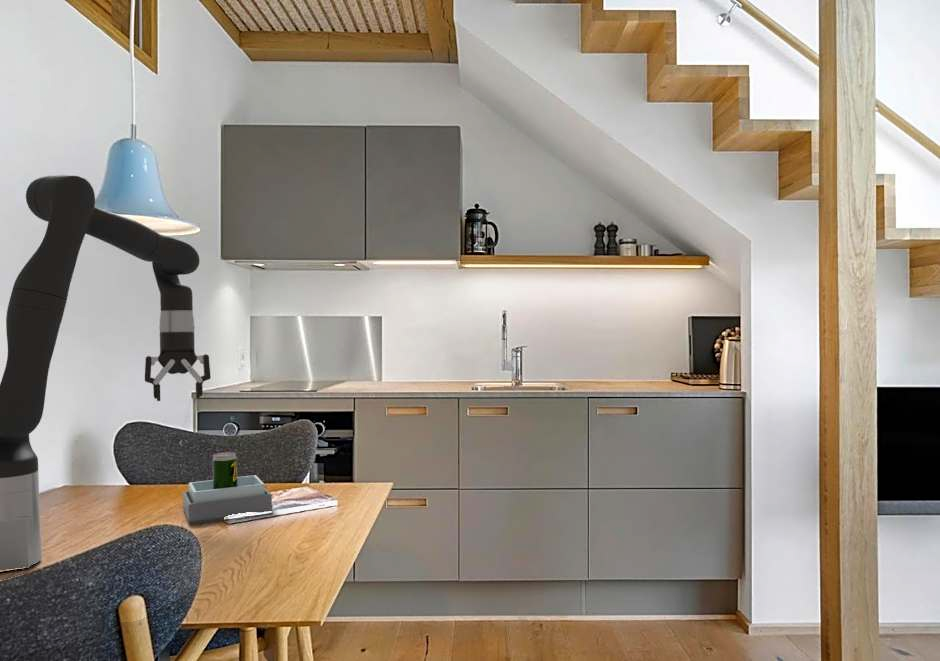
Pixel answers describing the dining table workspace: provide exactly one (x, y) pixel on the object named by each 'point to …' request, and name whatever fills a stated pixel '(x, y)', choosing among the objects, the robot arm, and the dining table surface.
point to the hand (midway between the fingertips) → (178, 399)
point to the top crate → (225, 490)
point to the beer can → (224, 470)
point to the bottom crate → (224, 507)
